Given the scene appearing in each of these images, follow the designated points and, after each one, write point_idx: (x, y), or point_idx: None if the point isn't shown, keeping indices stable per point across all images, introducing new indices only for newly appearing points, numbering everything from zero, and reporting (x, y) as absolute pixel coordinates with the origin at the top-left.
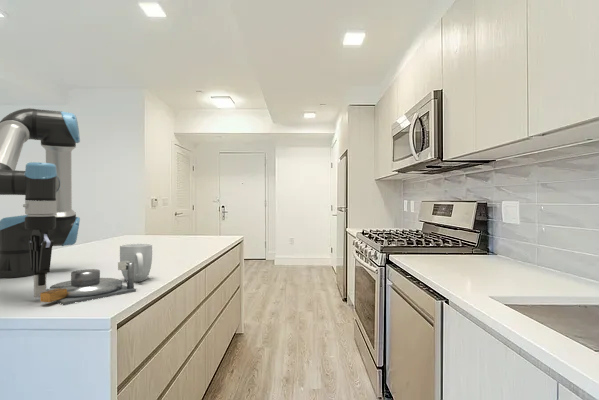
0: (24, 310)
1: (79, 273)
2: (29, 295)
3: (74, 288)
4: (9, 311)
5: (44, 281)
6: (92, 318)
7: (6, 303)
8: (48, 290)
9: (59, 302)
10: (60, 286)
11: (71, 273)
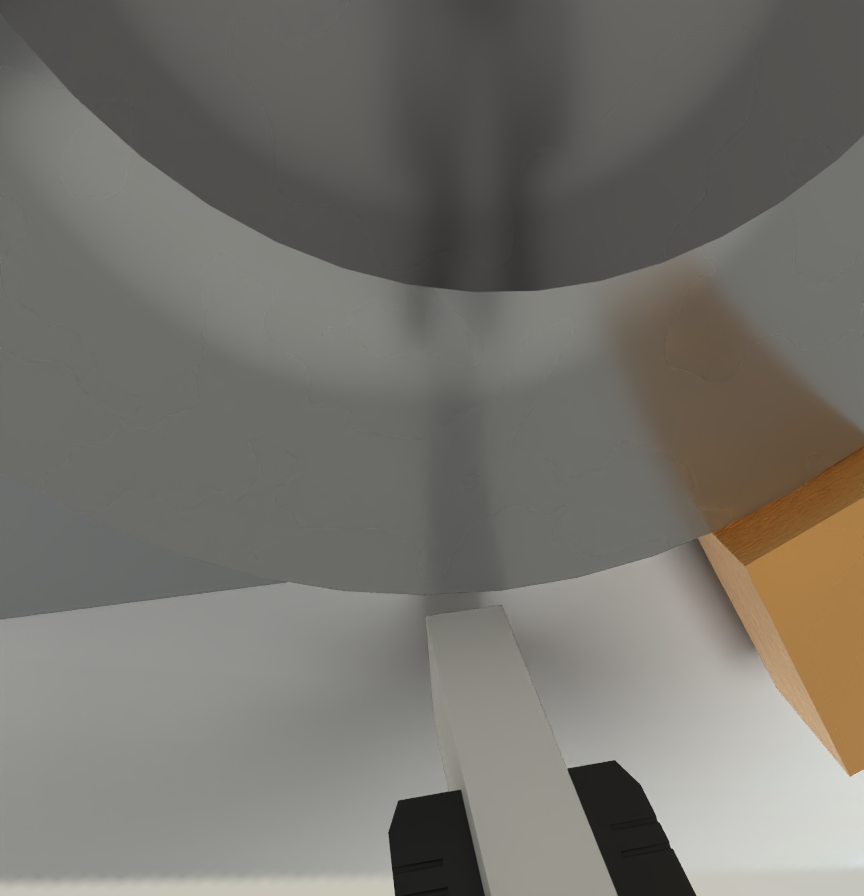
0: (790, 767)
1: (815, 93)
2: (33, 689)
3: (740, 267)
4: (711, 850)
5: (655, 828)
6: None
7: (347, 871)
8: (3, 497)
9: None
10: (321, 420)
11: (479, 290)
